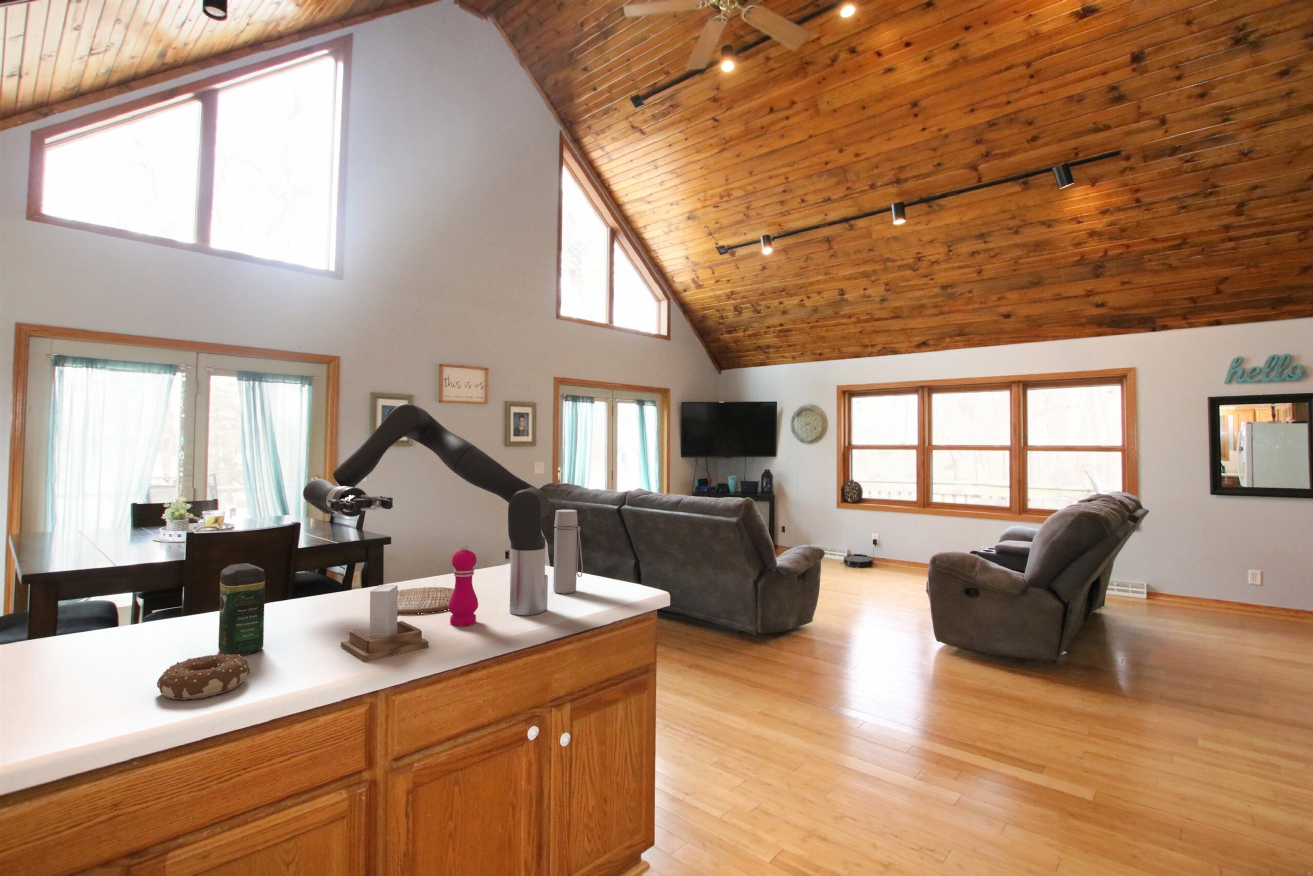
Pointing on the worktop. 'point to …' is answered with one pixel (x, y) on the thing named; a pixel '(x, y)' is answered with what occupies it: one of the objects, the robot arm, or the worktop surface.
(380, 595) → the skincare box
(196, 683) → the donut
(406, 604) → the trivet
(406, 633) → the u rest
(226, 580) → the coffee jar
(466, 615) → the pepper mill
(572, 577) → the water bottle
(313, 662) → the worktop surface
